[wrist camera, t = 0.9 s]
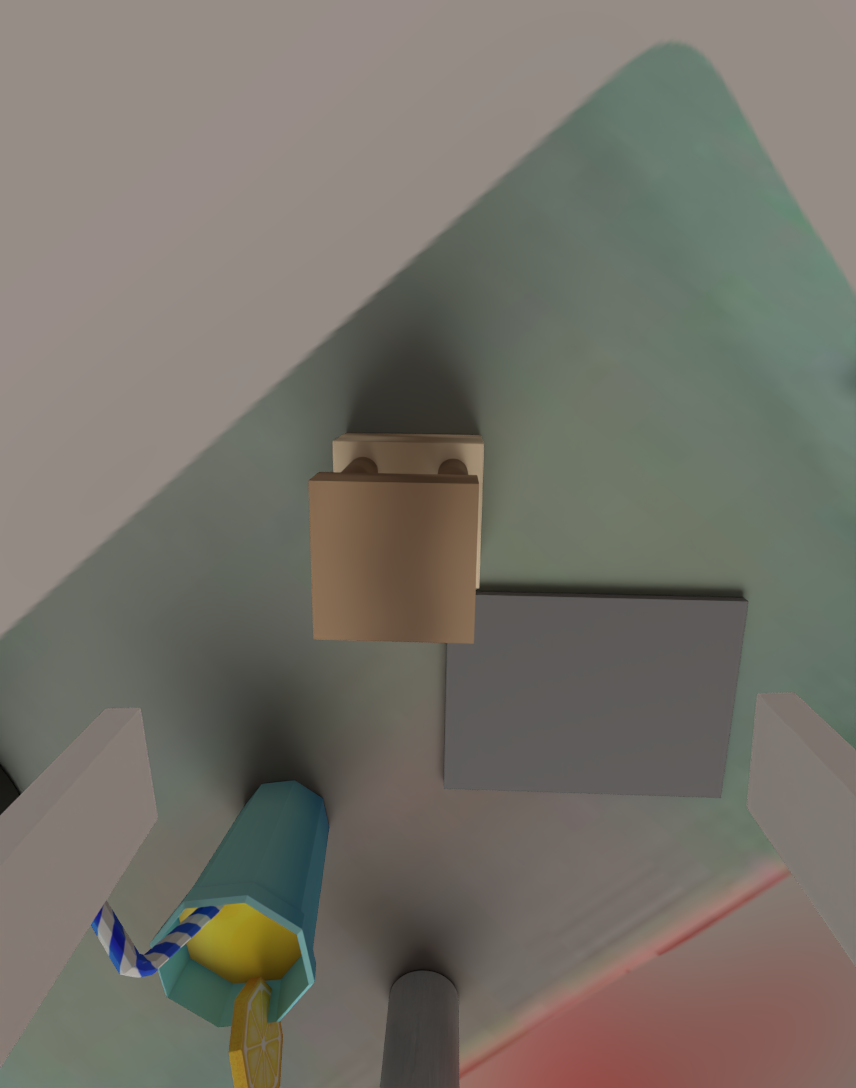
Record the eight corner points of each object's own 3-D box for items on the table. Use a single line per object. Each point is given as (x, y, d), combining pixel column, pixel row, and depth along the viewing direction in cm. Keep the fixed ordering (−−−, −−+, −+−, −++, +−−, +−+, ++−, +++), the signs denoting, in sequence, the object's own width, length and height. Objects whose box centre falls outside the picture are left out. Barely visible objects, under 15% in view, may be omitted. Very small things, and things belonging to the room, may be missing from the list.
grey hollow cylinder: (448, 1031, 45) (447, 1217, 36) (382, 1015, 45) (362, 1198, 35) (466, 978, 44) (470, 1156, 34) (398, 961, 44) (382, 1135, 34)
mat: (444, 782, 41) (443, 788, 40) (448, 590, 38) (448, 594, 37) (716, 791, 40) (720, 797, 40) (743, 597, 37) (748, 601, 37)
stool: (345, 575, 33) (313, 639, 26) (343, 452, 32) (308, 480, 24) (469, 578, 33) (473, 643, 26) (472, 454, 32) (479, 484, 24)
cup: (158, 745, 41) (-5, 955, 26) (265, 685, 40) (155, 872, 25) (289, 915, 44) (207, 1191, 29) (393, 864, 42) (361, 1126, 28)
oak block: (347, 562, 37) (335, 585, 34) (345, 432, 36) (332, 441, 32) (476, 565, 37) (479, 588, 33) (480, 435, 35) (484, 443, 32)
